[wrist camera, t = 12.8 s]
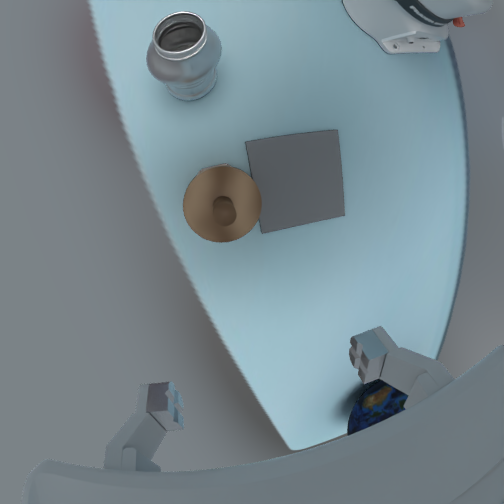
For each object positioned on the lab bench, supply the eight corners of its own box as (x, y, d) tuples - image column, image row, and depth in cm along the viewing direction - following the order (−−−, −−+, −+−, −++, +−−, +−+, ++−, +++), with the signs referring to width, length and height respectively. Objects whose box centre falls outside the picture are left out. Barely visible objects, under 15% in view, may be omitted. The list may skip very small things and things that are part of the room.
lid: (252, 158, 33) (260, 162, 28) (266, 230, 37) (275, 244, 33) (174, 177, 32) (170, 184, 28) (195, 247, 37) (194, 264, 32)
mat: (335, 129, 37) (337, 129, 36) (343, 214, 43) (344, 215, 43) (245, 141, 36) (245, 142, 35) (261, 232, 42) (262, 233, 42)
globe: (322, 422, 75) (351, 495, 48) (351, 366, 62) (402, 459, 36) (392, 402, 80) (426, 460, 54) (428, 345, 68) (479, 411, 41)
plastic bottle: (225, 82, 32) (248, 35, 14) (186, 112, 33) (166, 92, 15) (197, 51, 29) (193, -18, 11) (158, 80, 30) (114, 36, 12)
